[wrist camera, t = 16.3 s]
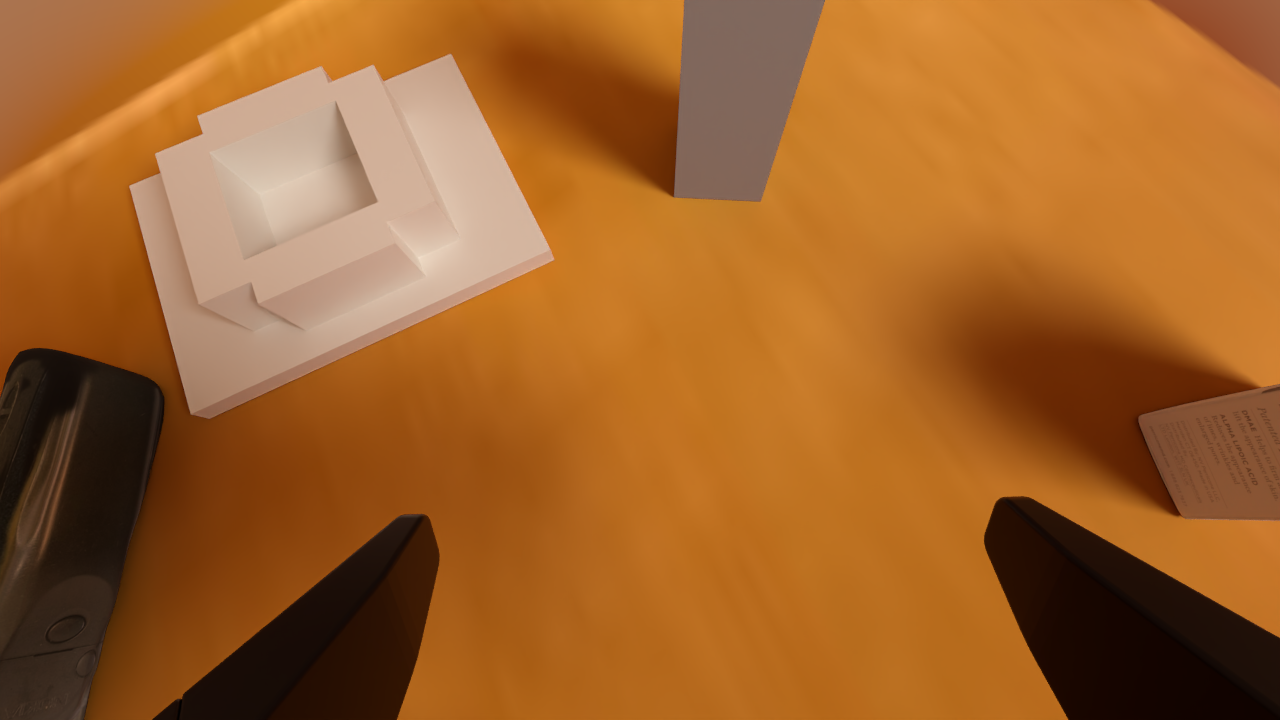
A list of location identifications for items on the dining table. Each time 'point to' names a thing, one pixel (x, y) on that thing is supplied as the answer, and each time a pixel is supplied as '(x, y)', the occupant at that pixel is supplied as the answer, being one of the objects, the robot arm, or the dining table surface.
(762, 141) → the plug
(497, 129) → the dining table surface
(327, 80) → the white flat stepped block
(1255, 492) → the skincare box
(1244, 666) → the robot arm
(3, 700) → the mobile phone
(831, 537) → the dining table surface
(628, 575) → the dining table surface
